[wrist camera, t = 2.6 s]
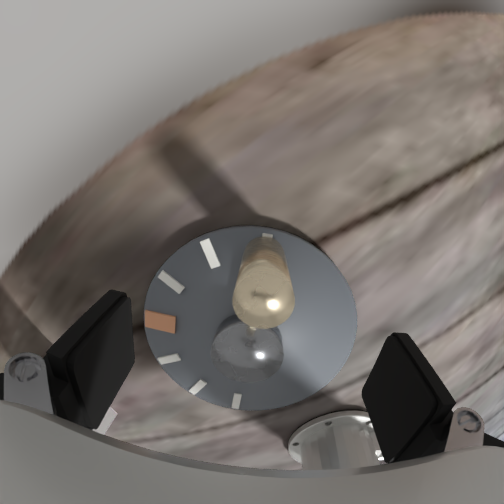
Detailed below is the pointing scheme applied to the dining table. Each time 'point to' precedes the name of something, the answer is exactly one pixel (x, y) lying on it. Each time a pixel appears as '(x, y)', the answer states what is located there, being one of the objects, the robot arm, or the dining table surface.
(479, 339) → the dining table surface
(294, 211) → the dining table surface
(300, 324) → the dial board
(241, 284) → the lever
